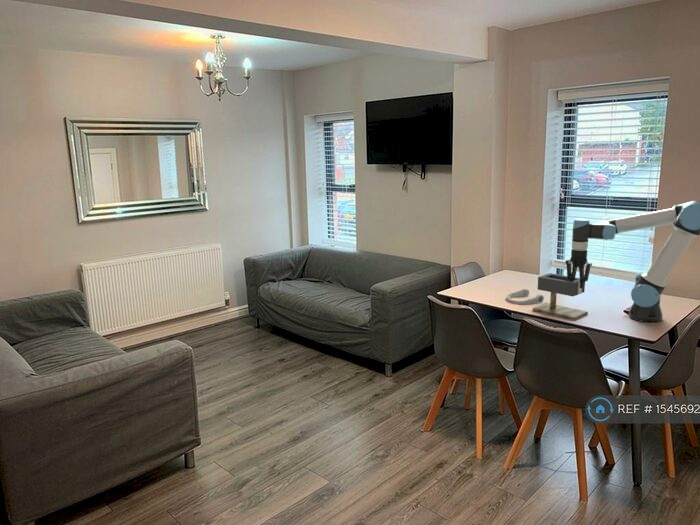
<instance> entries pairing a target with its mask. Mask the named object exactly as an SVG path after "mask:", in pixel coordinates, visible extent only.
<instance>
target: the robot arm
mask: <svg viewBox="0 0 700 525" xmlns="http://www.w3.org/2000/svg"><path fill="white" fill-rule="evenodd" d="M669 225H672V226H673V227H672V228H673V230H672V231H671V234H670V235H669V236H668V238H667V240H666V242H665V243H664V245H663V247H662V248H661V249H660V251H659V252H658V254H657V256H656V257H655V259H654V260H653V262H652V263H651V266H650V267H649V269H648V271H647V272H645V273H637V274H636V275H635V278H634V279H635V283H634V286H633V288H632V289H631V291H630V292H631V293H630V297H631V300H632V301H633V302H632V304H631V307H630V309H629V312H628V317H629V316H630V317H631V318H630V317H629V318H630V319H632V318H634V319H637V320H636V321H638V320H642V321H641V322H643V321H652V322H651V323H656V322H655V321H659V322H662V321H663V311H662V308H661V295H662V294H663V292H664V291H665V289H666V287H667V283H666V281H667V279H668V277H669V276H670V275H671V273H672V272H673V270H674V268H675V267H676V266H677V264H678V262H679V261H680V259H681V257H682V256H683V255H684V252H685V251H686V250H687V248H688V247H689V246H690V244H691V242H692V241H693V239H694V238H696V237H699V236H700V200H698V199H697V200H691V201H688V202H685V203H681V204H680V203H679V204H675V205H673V206H672V208H666V209H662V210H656V211H651V212H647V213H646V212H645V213H641V214H636V215H635V214H634V215H630V216H625V217H620V218H619V217H618V218H615V219H614V218H613V219H605V220H603V221H601V222H600V223H591V222H590V220H589V218H588V219H587V218H576V219H574V220H573V226H572V236H571V239H572V240H571V254H570V256H571V257H570V258H569V259H567V260H565V264H566V276H567V278H568V279H570V280H571V282H572V281H575V278H576V277H577V276H576V275H577V271H578V270H579V278H580V281H579V282H578V295H582V293H581V292H582V288H583V287H584V282H585V283H586V282H588V281H589V276H590V272H591V267H593V263H592V262H589V261H588V246H589V239H595V240H605V241H607V240H609V241H612V240H614V239H615V238H616V234H621V233H622V234H623V233H627V232H628V233H629V232H633V231H639V230H647V229H650V228H657V227H662V226H663V227H664V226H669ZM634 319H633V320H634ZM661 320H662V321H661Z"/></svg>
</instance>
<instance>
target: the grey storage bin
mask: <svg viewBox="0 0 700 525" xmlns="http://www.w3.org/2000/svg"><path fill="white" fill-rule="evenodd" d="M579 281H580V277H575V281H572V282H571V280H570V279H568V278H567V275H563V274H557V273H552V272H550V273H545V274H543V275H540V276H537V290H538V291H544V292H549V293H551V292H553V293H557V294H559V295H564V296H569V297H575V296H578V295H579V294H578V282H579ZM585 289H586V282H584V287H583V288H582V292H581V294H583V293H585Z"/></svg>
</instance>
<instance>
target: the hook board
mask: <svg viewBox="0 0 700 525" xmlns="http://www.w3.org/2000/svg"><path fill="white" fill-rule="evenodd" d="M557 294H558V293H553V292H550V299H549V300H550V301H549V302H545V303H542V304H539V305H537V306H535V307H532V309H531V310H532V311H533V312H536V313H540V312H541V314H545V315H549V316H553V317H557V316H558V318H563V319H567V320H571V321H577V320H580V319H581V318H583V317H585V315H586V316H588V315H589V311H586V310H582V309H576V308H573V307H568V306H567V307H566V306H564V305H558V304H557ZM587 314H588V315H587ZM582 316H583V317H582ZM580 317H581V318H580ZM576 319H577V320H576Z"/></svg>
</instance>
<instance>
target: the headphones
mask: <svg viewBox="0 0 700 525" xmlns="http://www.w3.org/2000/svg"><path fill="white" fill-rule="evenodd" d="M529 295H530V290H529V289H527V288H522V289H521V290H518V291H515V292H512V293H509V294H508V295H507V296H506V301H507V302H509V301H510V302H509V303H511V302H512V303H513V304H515V303H517V305H532V303H534V304H539V303H538V302H540V303H543V301H544V295H543V294H537V295H536V296H535V297H532V298H529V299H526V300H514V299H513V297H514V298H522V297H521V296H524V297H528V296H529ZM509 298H510V299H509Z"/></svg>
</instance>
